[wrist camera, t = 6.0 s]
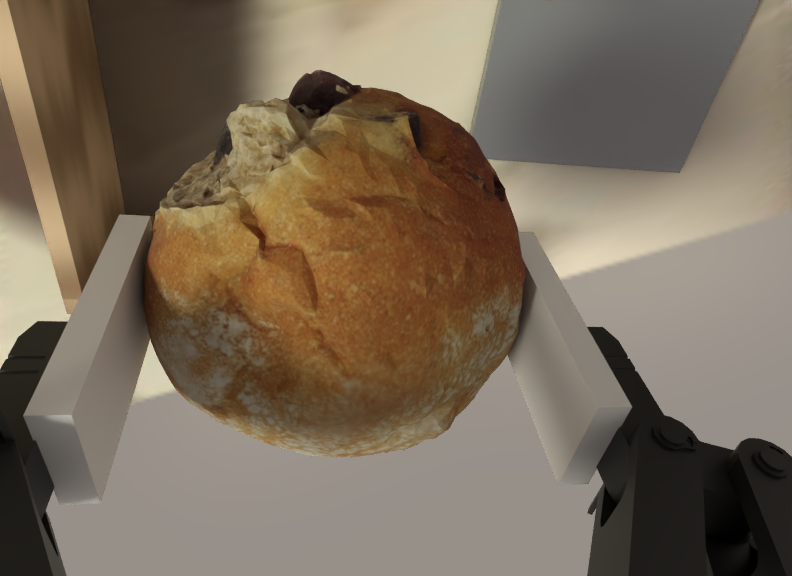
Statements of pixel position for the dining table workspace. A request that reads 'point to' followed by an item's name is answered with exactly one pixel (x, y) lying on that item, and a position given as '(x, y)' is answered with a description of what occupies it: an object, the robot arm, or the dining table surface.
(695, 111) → the slate board
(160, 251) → the bread roll
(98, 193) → the box
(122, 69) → the dining table surface
